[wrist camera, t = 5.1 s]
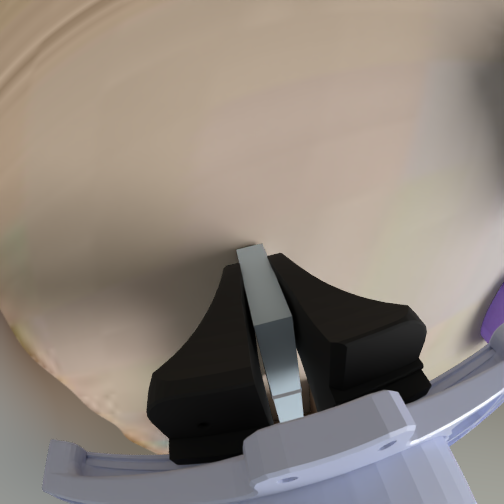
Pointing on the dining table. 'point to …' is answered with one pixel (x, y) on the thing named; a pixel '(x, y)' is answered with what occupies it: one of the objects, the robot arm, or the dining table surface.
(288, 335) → the grooved grey bar
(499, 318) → the masking tape
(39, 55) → the dining table surface
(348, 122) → the dining table surface
